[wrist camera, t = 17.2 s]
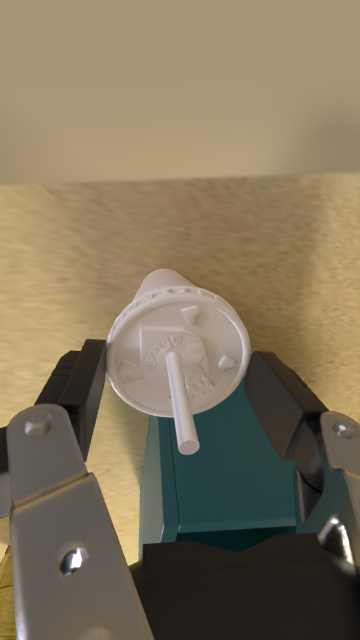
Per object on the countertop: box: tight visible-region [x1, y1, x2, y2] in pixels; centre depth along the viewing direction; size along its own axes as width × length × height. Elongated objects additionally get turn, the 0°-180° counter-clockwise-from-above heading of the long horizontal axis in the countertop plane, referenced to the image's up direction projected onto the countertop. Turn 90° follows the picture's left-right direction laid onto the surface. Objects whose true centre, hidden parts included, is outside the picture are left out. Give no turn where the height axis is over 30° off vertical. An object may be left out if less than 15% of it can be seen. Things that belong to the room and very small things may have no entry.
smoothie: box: [106, 269, 251, 455], centre depth 13 cm, size 6×6×14 cm
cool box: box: [139, 378, 296, 561], centre depth 22 cm, size 17×14×12 cm
